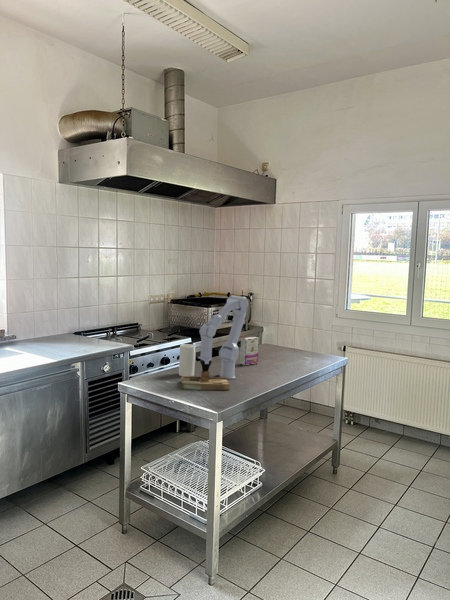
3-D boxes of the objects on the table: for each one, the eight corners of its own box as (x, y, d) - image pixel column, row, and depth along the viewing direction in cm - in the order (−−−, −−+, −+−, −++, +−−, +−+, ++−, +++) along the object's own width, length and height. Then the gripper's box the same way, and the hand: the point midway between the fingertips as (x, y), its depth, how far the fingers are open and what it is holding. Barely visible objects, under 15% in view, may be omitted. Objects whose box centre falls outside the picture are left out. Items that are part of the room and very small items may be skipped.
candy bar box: (252, 362, 277) (253, 336, 275) (258, 364, 273) (259, 337, 271) (239, 364, 269) (240, 337, 268) (244, 366, 266) (246, 339, 264)
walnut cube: (201, 378, 224) (201, 371, 224) (209, 379, 224) (209, 371, 224) (200, 381, 220) (201, 373, 220) (208, 381, 220) (209, 373, 220)
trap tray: (181, 381, 224) (181, 376, 224) (226, 382, 227) (226, 377, 227) (181, 389, 211) (182, 383, 211) (229, 390, 214) (229, 384, 214)
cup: (196, 374, 240) (198, 345, 239) (188, 377, 233) (189, 347, 232) (184, 371, 244) (186, 343, 243) (175, 374, 237) (177, 345, 236)
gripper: (197, 345, 232) (196, 370, 234) (199, 351, 218) (198, 378, 219) (211, 345, 233) (209, 371, 234) (213, 351, 219) (212, 378, 220)
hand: (205, 374), depth 227 cm, fingers closed
